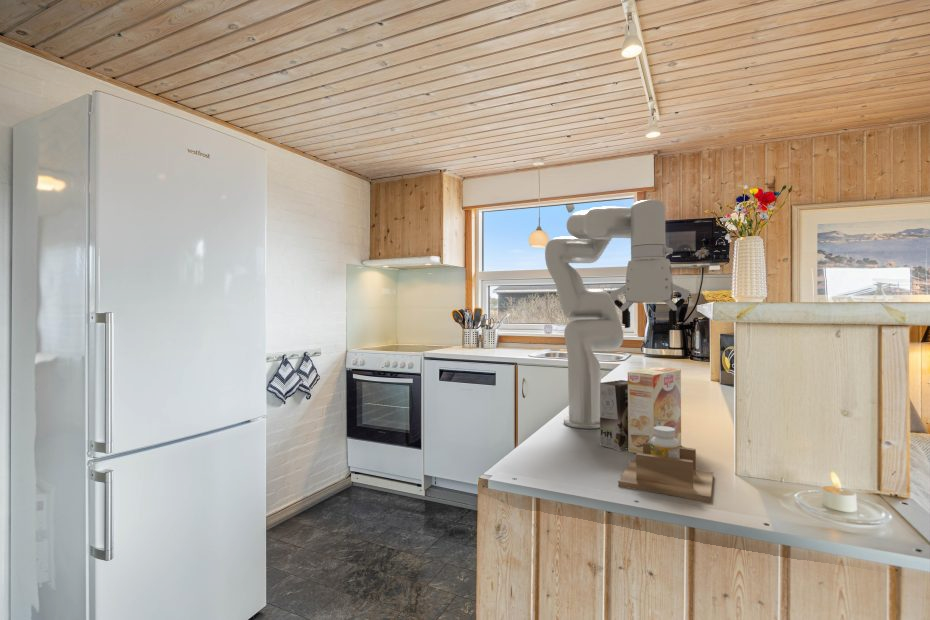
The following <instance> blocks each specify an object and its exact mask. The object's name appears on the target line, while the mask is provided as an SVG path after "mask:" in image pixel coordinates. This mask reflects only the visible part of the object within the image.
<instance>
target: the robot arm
mask: <svg viewBox="0 0 930 620" xmlns="http://www.w3.org/2000/svg"><path fill="white" fill-rule="evenodd" d="M566 229H567V233H568V234H570V235H571V236H558V237H554V238H552V239H550V240H549V241H548V242H547V243H546V246H545V250H544V259H545V265H546V269H547V270H548V273H549V274H550V276H551V278H552V280H553V282H554V284H555V288H556V292H557V295H558V298H559V302H560V306H561V309H562V312H563V315H564V316H565V318H568V319H569V320H572V321H570V322H568V323H567V324H566V326H565V328H564V342H565V347H566V352H567V353H566V354H567V376H568V377H567V378H568V379H567V381H568V416H565V417H564V418H563V423H564V424H565V425H566V426H568V427H571V428H577V429H591V430H593V429H600V383H602V377H601V376H602V374H601V372H602V371H601V369H602V368H601V364H600V361H599V360H598V358H597V356H596V355H595V354H594V352H595V351H612V350H613V351H614V350H617V349H619V348H620V347H621V346H622V344H623V342H624V331H623V330H624V329H630V328H631V311H630V308H631V306H632V305H633V304H634V303H635V304H647V303H649V304H653V303H654V304H656V303H657V304H659V303H665V304H666V305H667V306H668V307H669V311H668V328H669V329H674V328H675V326H676V325H677V324H678V317H677V316H678V315H677V313H678V310H679V309H680V308H681V307H682V306H683V305H684V304H685V303H686V301H687V299H688V297H689V296H690V294H691V291H690V290H689V289H686V288H684V287H681V286H680V285H679V286H678V285H677V284H674V282H673V280H674V279H673V271H672V270H673V269H672V264H671V261H670V259H669V258H667V256H668V255H671V254H673V251H674V250H673V247H667V245H666V243H667V242H666V205H665V203H664V202H663V201H661V200H658V199H644V200H639V201H636V202H634V203H633V204H632V205H631V207H630V206H627V207H626V206H601V207H591V208H589V209H585V210H579V211H576V212H574V213H572V215H570V216H569V217H568V218H567V221H566ZM613 238H614V239H616V238H617V239H630V260H628V263H627V268H626V272H625V285H623V286H621V287H619V288H618V289H615V290H614V291H611V292H610V293H609V292H608V291H606V290H603V289H595V288H594V289H590V288H586V286H585V285H584V282H583V278H582V276H581V274H580V273H579V272H578V271H577V270H576V269H575V268H574V267H573V266H571V265H570V264H592V263H596V262H597V261H599V259H600V258H601V256H602V255H603V253H604V251H606V248H608V246H609V244H610V242H611V241H612V239H613ZM674 292H677V293H679V294H681V296H680V298H679V300H677V301H675V302H674V301H673V298H674ZM623 293H624V298H625V299H624V300H625V301H624V302H623V301H621V300H620V297H619V295H622V294H623ZM617 307H618V309H620V311H621V319H620V317H619V314H618V311H617ZM620 320H622V321H620ZM622 325H624V329H623V327H622Z"/></svg>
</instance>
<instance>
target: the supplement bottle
mask: <svg viewBox="0 0 930 620" xmlns="http://www.w3.org/2000/svg"><path fill="white" fill-rule="evenodd" d="M653 433H654V435H655V437H653V438H652V439H651V441H650V446H651V455H656V456H664V457H671V458H678V459H680V450H679V447H680V446H679V442H678V440H677V439H675V438H674V437H675V429H674V428H672V427H666V426H656V427H654V432H653Z"/></svg>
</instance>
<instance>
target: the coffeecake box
mask: <svg viewBox="0 0 930 620" xmlns="http://www.w3.org/2000/svg"><path fill="white" fill-rule="evenodd" d="M681 376H682V369H680V368H672V367H663V366H661V367H659V366H654V367H649V368H645V369H644V368H643V369H638V370H633V371H628V372H627V381H628V449H627V452H629V453H632V454H633V453H634V454H635V455H636V454H637V453H642V454H643V443H644V442H646V443H650V441H651V439H652V438H653V437H655V435H654V433H653V432H654V427H656V426H666V427H672V428H674V429H675V437H674V438H675V439H677V440H678V442H679V447H682V383H681V382H682V381H681V380H682V377H681Z"/></svg>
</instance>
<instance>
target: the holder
mask: <svg viewBox="0 0 930 620" xmlns="http://www.w3.org/2000/svg"><path fill="white" fill-rule="evenodd" d="M679 450H680V459H678V458H671V457H664V456H656V455H651V446H650V443H646V442H644V443H643V454H642V453H637V454H636V453H635V460H634V459H633V460H630V462H629V463H628V465H627V467H626V468H625V469H624V471H623V473H622V474H621V476H620V477H619V479H618V480H617V481H618V482H617V486H618V487H623V488H627V489H634V490H638V491H643V492H650V493H657V494H662V495H667V496H672V497H678V498H679V497H680V498H685V499H690V500H695V501H696V500H697V501H701V502H706V503H712V493H713V492H712V491H713V483H714V472H713V471H709V470H708V471H706V470H701V469H697V459H696V458H697V451H696V448H692V447H684V446H683V447H682V446H679Z"/></svg>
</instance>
